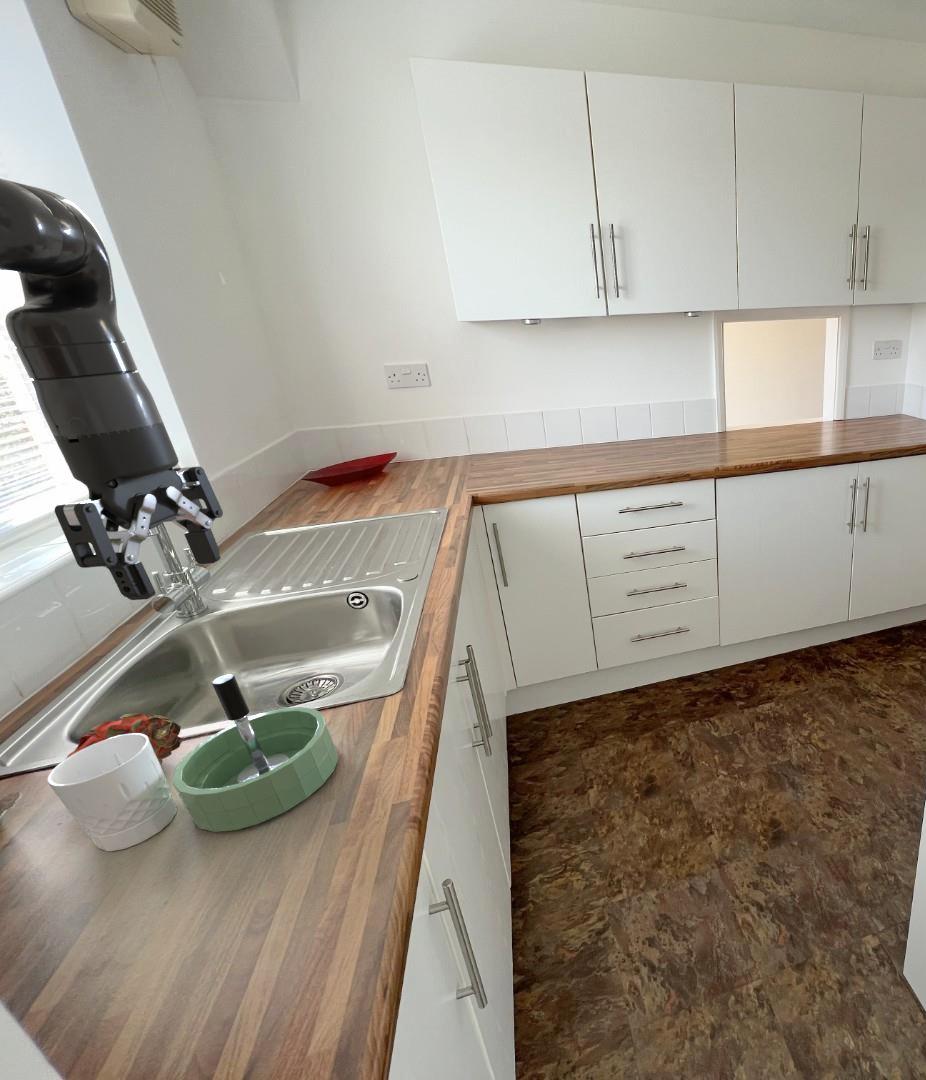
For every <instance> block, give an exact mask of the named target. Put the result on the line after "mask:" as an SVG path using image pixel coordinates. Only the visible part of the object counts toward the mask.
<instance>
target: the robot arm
mask: <svg viewBox="0 0 926 1080" xmlns="http://www.w3.org/2000/svg"><path fill="white" fill-rule="evenodd" d="M108 253H109V252H108V250H107V248H106V245H105V243H104V240H103V238H102V237H101V235H100V233H99V231H98V230H97V228H96V226H95V225H94V223H93V222H92V220H91V219H90V218H89V217H88V216H87V214H86V213H84V211H82V209H80V208H79V207H78V206H77V205H76V204H75V203H73V202H72V201H70V200H69V199H67V198H66V197H63V196H62V195H60V194H58V193H56V192H53V191H51V190H47V189H43V188H40V187H37V186H32V185H28V184H23V183H20V182H16V181H12V180H8V179H4V178H0V272H6V273H14V274H15V273H16V274H18V276H19V279H20V283H21V288H22V292H23V297H24V303H23V305H22V306H19V307H16V308H14V309H12V310H10V311H9V312H8V313H7V314H6V316H5V320H4V321H5V322H4V323H5V327H6V330H7V335H8V336H9V338H10V341H11V343H12V345H13V347H14V348H15V351H16V353H17V355H18V357H19V359H20V361H21V363H22V365H23V367H24V370H25V371H26V373H27V376H28V377H29V379H30V382H31V384H32V386H33V390H34V394H35V397H36V401H37V404H38V406H39V409H40V412H41V414H42V415H43V418H44V419H45V421H46V424H47V426H48V428H49V430H50V433H51V434H52V436H53V438H54V441H55V443H56V444H57V447H58V449H59V451H60V453H61V454H62V456H63V459H64V461H65V463H66V465H67V467H68V469H69V471H70V473H71V475H72V477H73V478H74V479H75V480H76V481H78V482H80V483H82V484H83V485H85V486H86V488H87V490H88V500H84V501H80V502H71V503H62V504H61V503H60V504H58V505H56V506H55V507H54V514H55V516H56V518H57V521H58V523H59V525H60V527H61V529H62V532H63V535H64V536H65V540H67V541H66V542H67V543H68V546H69V548H70V550H71V553H72V555H73V557H74V559H75V560H74V561H75V562H76V564H77V566H78V567H80V568H82V569H89V568H98V567H99V568H100V567H104V568H106V569H108V571H109V572H110V574H111V576H112V579H113V580H114V582H115V584H116V586H117V588H118V590H119V592H120V594H121V595H122V596H123V597H124V598H127V599H128V600H130V601H141V600H149V599H150V598H152V597H155V596H156V590H155V587H154V585H153V584H152V581H151V579H150V577H149V575H148V573H147V571H146V568H145V566H144V564H143V561H138V558H139V553H140V549H141V548H140V547H141V544H142V542H145V541H146V540H147V538H148V533H149V531H150V530H152V529H155V528H158V527H159V526H160V525H161V524H162V523H167V522H172V523H173V524H174V525H176V526H178V527H179V528H181V529H182V530H184V531H186V532H184V533H183V535H184V537H185V540H186V543H187V545H188V547H189V549H190V551H191V554H192V556H193V558H194V561H195V562H196V563H197V564H199V565H208V564H215V563H216V562H219V561H220V560H221V555H220V548H219V546H218V543H217V540H216V538H215V535H214V533H213V531H212V528H213V526H214V521H215V520H217V519H221V518H222V517H223V516H224V511H223V509H222V506H221V504H220V502H219V500H218V498H217V495H216V494H215V492H214V489H213V486H212V485H211V483H210V480H209V478H208V476H207V474H206V471H205V470H204V468H203V467H202V466H199V465H198V466H186V467H185V466H184V467H176V466H177V465H178V464H179V461H180V460H179V456H178V455H177V452H176V450H175V448H174V445H173V443H172V440H171V437H170V436H169V433H168V431H167V428H166V426H165V423H164V421H163V418H162V415H161V414H160V411H159V409H158V407H157V404H156V401H155V400H154V397H153V395H152V393H151V391H150V389H149V388H148V386H147V385H146V383H145V381H144V379H143V377H142V376H141V374H140V371H138V367H137V365H136V362H135V360H134V356H133V355H132V353H131V351H130V348H129V345H128V343H127V341H126V338H125V336H124V334H123V332H122V331H121V328H120V326H119V321H118V308H117V298H116V297H117V296H116V291H115V284H114V279H113V278H114V277H113V272H112V271H113V270H112V265H111V260H110V257H109V254H108ZM174 467H175V468H174ZM201 500H202V501H203V503H204V505H205V507H203V505H202V502H201ZM120 528H122V529H124V530H119V529H120ZM121 544H122V546H121ZM91 546H92V547H91ZM120 546H121V550H120ZM92 549H93V550H92ZM93 551H94V552H93ZM119 551H120V552H119Z"/></svg>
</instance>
